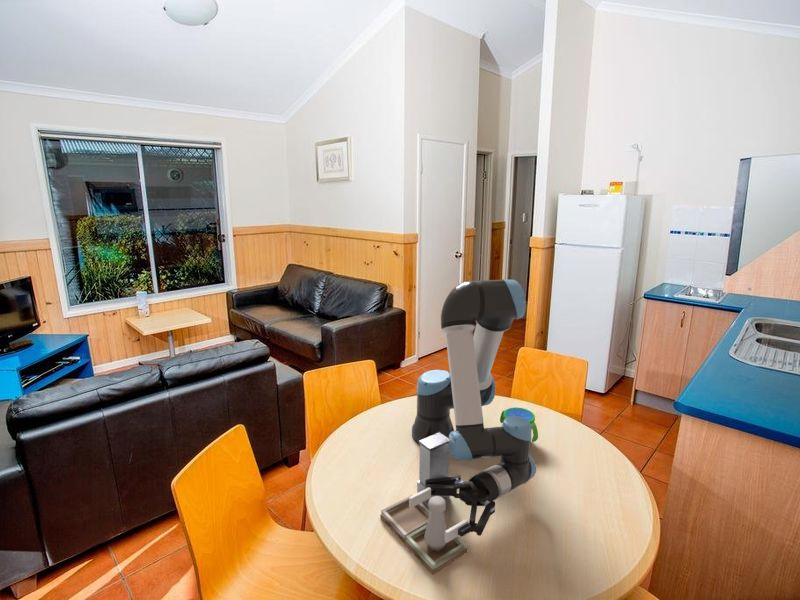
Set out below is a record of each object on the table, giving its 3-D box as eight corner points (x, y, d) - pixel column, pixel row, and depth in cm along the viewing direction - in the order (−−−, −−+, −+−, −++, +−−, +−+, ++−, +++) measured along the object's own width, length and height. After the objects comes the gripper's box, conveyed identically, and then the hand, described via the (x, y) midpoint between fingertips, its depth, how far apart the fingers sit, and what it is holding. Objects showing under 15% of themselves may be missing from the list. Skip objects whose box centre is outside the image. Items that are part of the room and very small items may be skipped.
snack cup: (491, 433, 159) (493, 407, 156) (514, 426, 163) (516, 401, 161) (520, 456, 145) (522, 428, 143) (544, 448, 150) (547, 421, 147)
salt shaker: (445, 557, 105) (447, 511, 101) (422, 551, 106) (422, 506, 103) (449, 538, 110) (451, 494, 107) (427, 533, 112) (428, 490, 108)
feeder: (417, 499, 125) (417, 440, 121) (438, 488, 130) (439, 431, 125) (433, 514, 120) (435, 454, 115) (455, 502, 124) (458, 443, 119)
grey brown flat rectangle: (380, 517, 118) (380, 510, 118) (412, 501, 125) (412, 494, 124) (432, 574, 101) (432, 566, 101) (467, 552, 107) (467, 544, 107)
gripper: (526, 525, 107) (462, 567, 96) (456, 472, 127) (396, 502, 115) (528, 499, 106) (463, 539, 94) (457, 449, 125) (396, 477, 113)
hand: (426, 519), depth 104 cm, fingers open, 13 cm apart
